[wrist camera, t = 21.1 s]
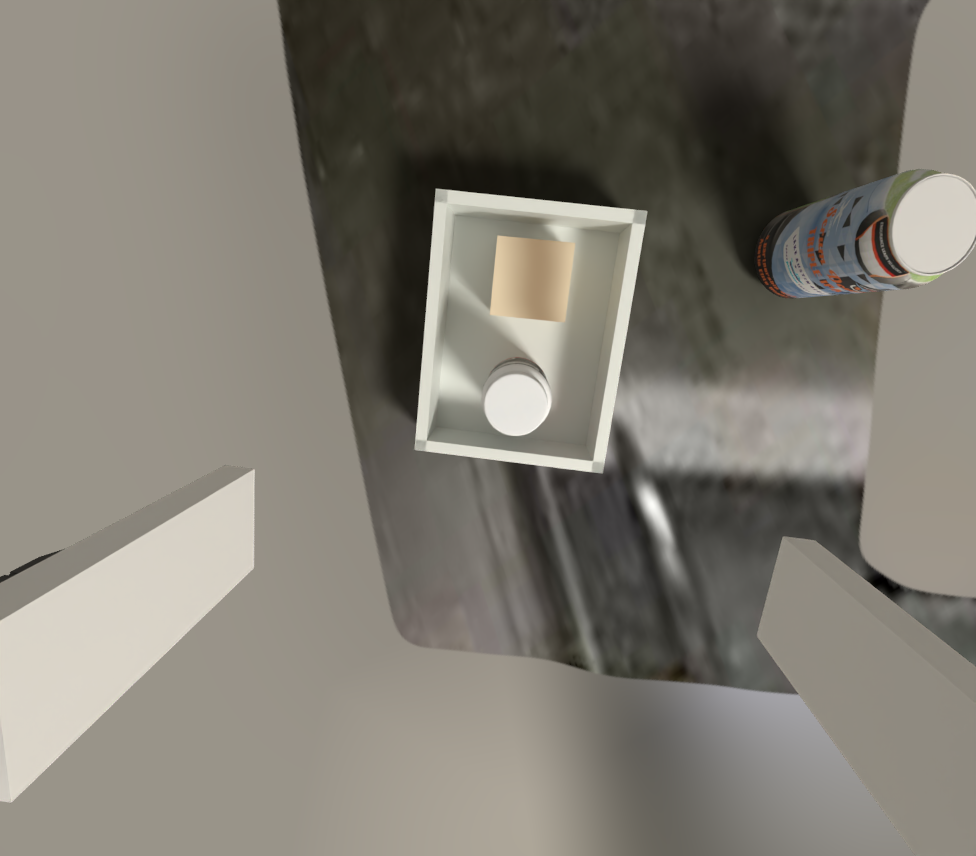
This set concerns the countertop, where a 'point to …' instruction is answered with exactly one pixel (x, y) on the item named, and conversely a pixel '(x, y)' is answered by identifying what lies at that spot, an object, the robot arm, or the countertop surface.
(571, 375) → the tote
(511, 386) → the pill bottle
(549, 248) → the cube
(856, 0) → the countertop surface
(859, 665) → the robot arm
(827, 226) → the beverage can
